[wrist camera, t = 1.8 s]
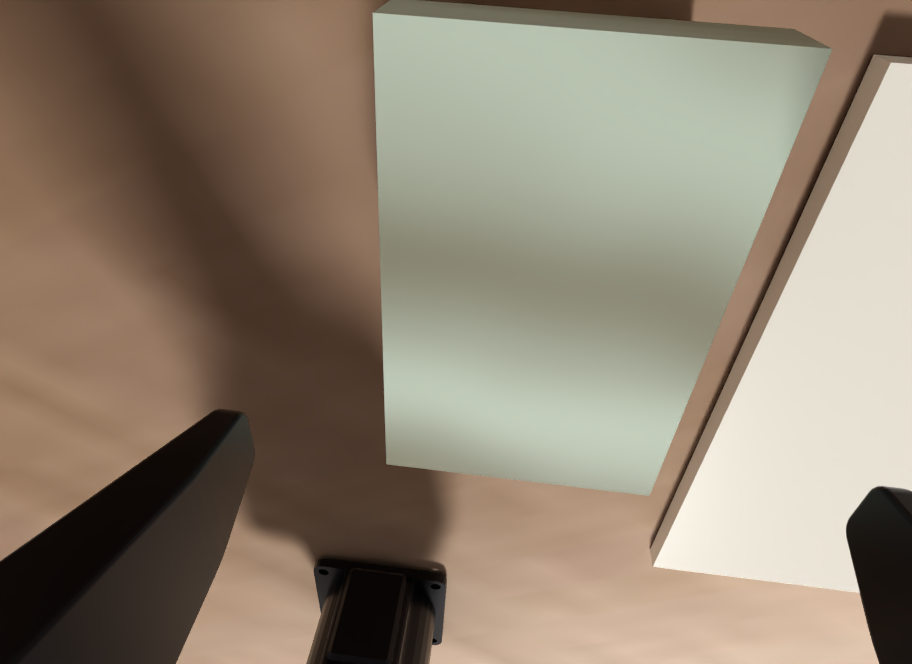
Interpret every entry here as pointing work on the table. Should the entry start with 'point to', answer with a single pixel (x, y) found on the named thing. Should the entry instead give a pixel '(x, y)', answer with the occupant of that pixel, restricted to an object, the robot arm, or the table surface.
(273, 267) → the table surface
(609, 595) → the table surface
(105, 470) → the table surface
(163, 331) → the table surface
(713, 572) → the white rectangular board
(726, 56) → the stool
